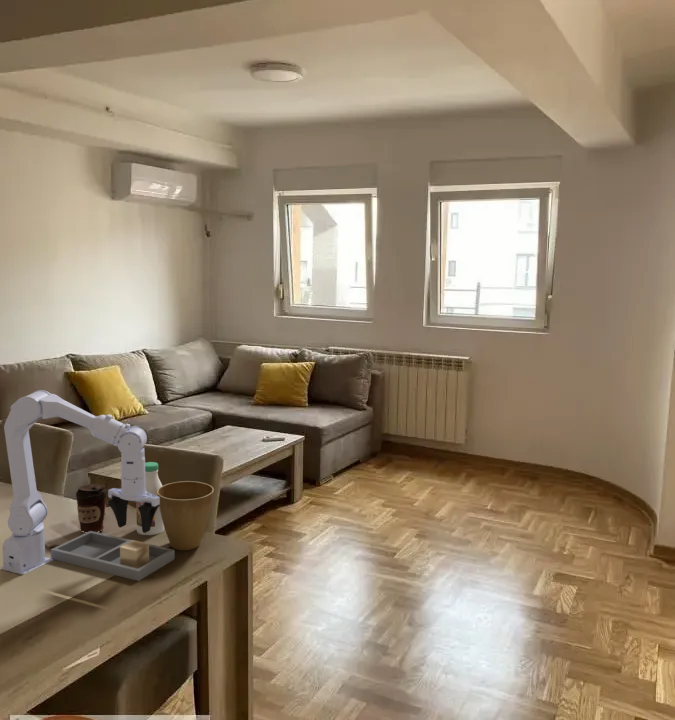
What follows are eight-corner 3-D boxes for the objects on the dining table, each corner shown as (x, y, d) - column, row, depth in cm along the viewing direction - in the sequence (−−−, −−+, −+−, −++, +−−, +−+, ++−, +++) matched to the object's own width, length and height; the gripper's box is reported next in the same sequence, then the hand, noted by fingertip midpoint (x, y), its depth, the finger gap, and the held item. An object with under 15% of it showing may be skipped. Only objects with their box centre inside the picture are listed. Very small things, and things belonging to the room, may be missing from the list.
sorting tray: (138, 582, 168) (138, 571, 168) (51, 560, 179) (50, 549, 179) (174, 560, 181) (174, 549, 180) (90, 541, 192) (90, 530, 191)
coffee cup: (101, 537, 195) (100, 492, 193) (71, 536, 195) (70, 491, 193) (112, 525, 204) (111, 482, 202) (83, 524, 204) (82, 481, 202)
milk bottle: (153, 524, 205) (153, 458, 202) (170, 531, 200) (169, 463, 197) (131, 532, 199) (130, 463, 196) (147, 539, 194) (146, 469, 192)
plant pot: (145, 550, 187) (144, 492, 185) (182, 531, 200) (182, 477, 198) (189, 562, 180) (189, 502, 178) (224, 542, 193) (224, 486, 191)
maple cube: (136, 569, 174) (135, 550, 173) (120, 566, 176) (119, 547, 175) (149, 562, 178) (148, 543, 178) (133, 558, 180) (133, 540, 180)
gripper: (167, 476, 175) (167, 528, 177) (121, 468, 180) (122, 518, 182) (148, 484, 168) (149, 537, 170) (101, 475, 174) (103, 527, 176)
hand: (134, 528), depth 176 cm, fingers open, 7 cm apart
